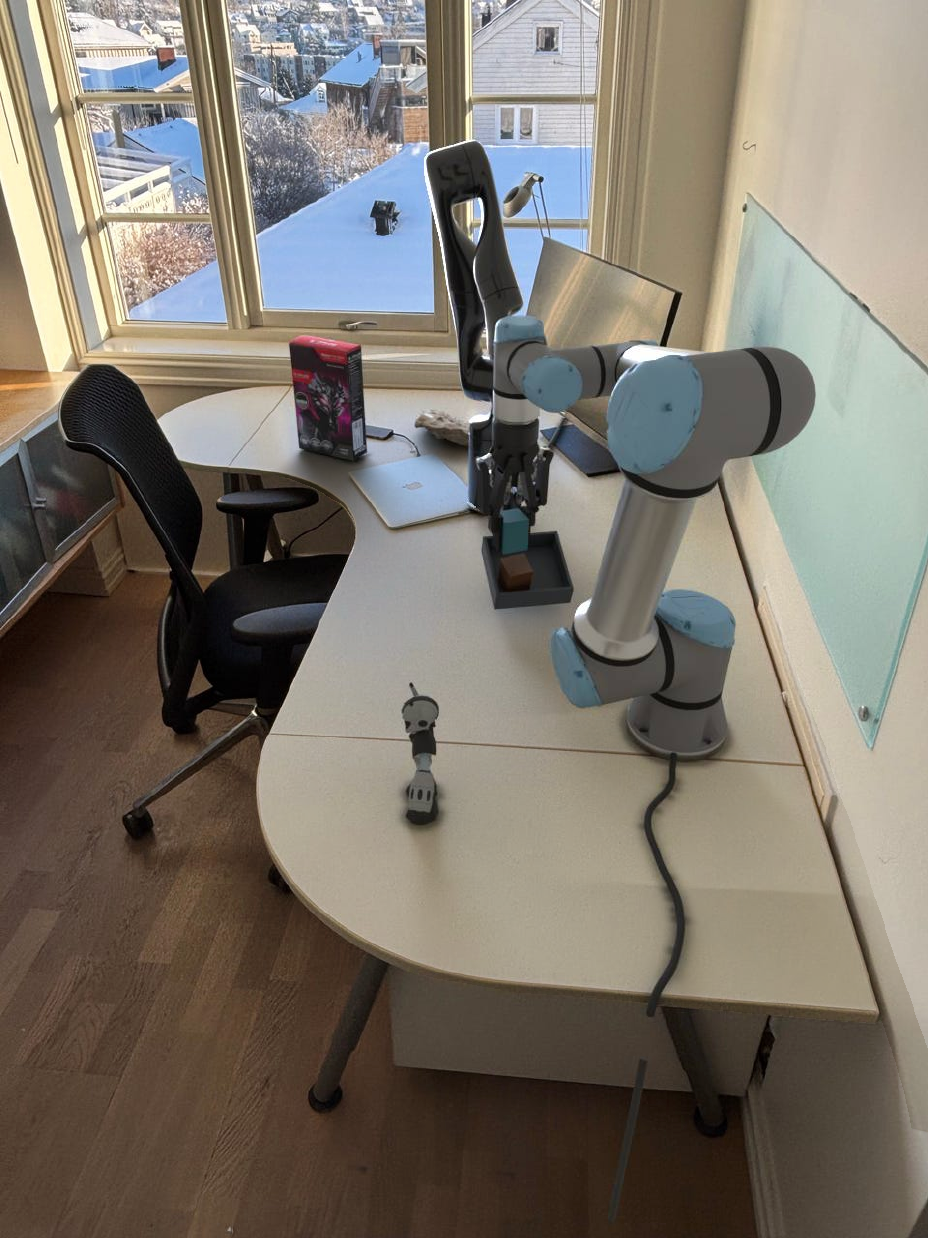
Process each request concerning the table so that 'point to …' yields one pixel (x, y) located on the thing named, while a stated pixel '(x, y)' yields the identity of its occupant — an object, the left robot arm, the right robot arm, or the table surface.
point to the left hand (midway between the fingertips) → (510, 519)
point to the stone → (444, 426)
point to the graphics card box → (329, 396)
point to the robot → (421, 756)
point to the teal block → (514, 531)
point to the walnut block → (515, 573)
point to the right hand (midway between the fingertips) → (510, 545)
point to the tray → (547, 576)
